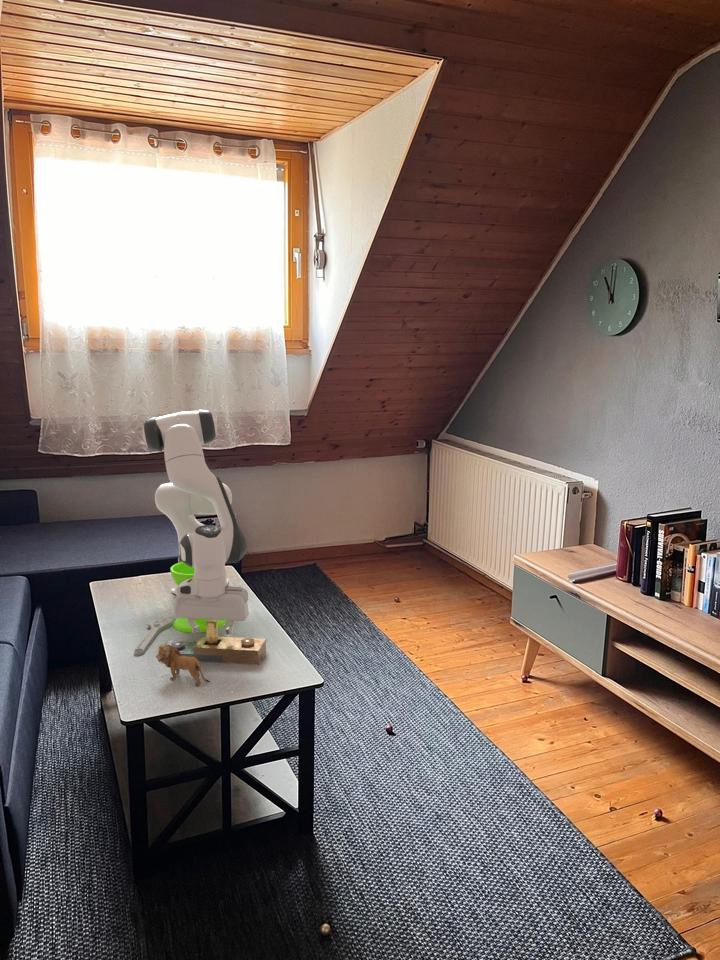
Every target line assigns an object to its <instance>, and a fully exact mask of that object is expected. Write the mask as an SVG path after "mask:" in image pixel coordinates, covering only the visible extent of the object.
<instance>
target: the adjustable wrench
mask: <svg viewBox="0 0 720 960" xmlns="http://www.w3.org/2000/svg"><path fill="white" fill-rule="evenodd" d="M146 625H147V629H150V630H149V631H148V632H147V634H146V635H145V636H144V637H143V639H142V640H141V641H140V642H139V643H138V645H136V647H135V648H134V649H133V655H134V654H135V655H134V656H141V654H142V655H144V654H145V652H146V651H145V650H148V648H149V647H150V645H151V644H152V642H153V641H154V640H155V639H156V637H157V636H158V634H159V633H160V632H161V631H163V630H165V629H168V628H170V627H171V626H172V625H173V624H172V619H171V618H169V617H165V620H164V621H159V622H158V620H157V618H155V619H152V620H150V621H149V623H147V624H146ZM148 646H149V647H148ZM143 653H144V654H143Z"/></svg>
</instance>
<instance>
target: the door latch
mask: <svg viewBox="0 0 720 960" xmlns="http://www.w3.org/2000/svg"><path fill="white" fill-rule="evenodd" d="M166 644H167V645H170V646H172V647H174V648H176V649H177V650H178V651H179V652H180V653H181V654H182V655H183V656H187V657H195V658H197V659H198V660H199V662H202V661H203V662H204V663H205V662H206V663H208V662H209V663H222V664H223V663H224V664H239V665H242V664H243V665H255V666H257V665H260V663H261V662H262V660H263V659H264V656H265V655H266V654H267V639H266V638H255V637H254V638H253V637H235V636H234V637H232V636H218V646H216V645H207V635H203V636H202V637H201V638H200V639H199V640H198V641H186V640H185V641H184V640H183V641H182V640H169V641H168V642H167V643H166Z"/></svg>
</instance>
